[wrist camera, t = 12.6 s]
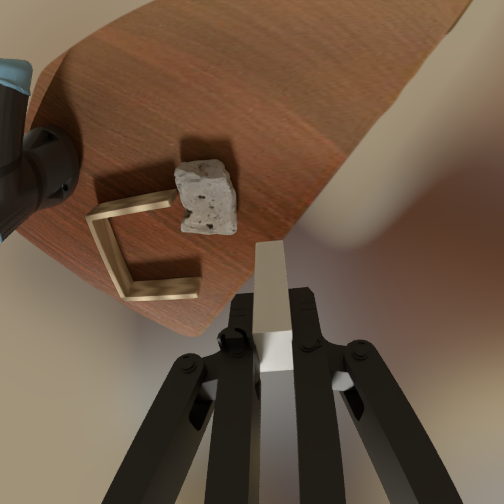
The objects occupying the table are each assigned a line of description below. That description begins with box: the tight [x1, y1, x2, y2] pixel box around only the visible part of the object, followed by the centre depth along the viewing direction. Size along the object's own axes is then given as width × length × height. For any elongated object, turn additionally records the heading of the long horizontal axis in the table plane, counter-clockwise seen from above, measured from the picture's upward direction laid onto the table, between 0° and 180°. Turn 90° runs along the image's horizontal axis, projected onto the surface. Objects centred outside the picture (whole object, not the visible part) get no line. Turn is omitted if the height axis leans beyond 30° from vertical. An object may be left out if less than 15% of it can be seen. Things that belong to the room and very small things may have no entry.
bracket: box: [85, 189, 202, 301], centre depth 49 cm, size 16×19×5 cm
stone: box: [174, 159, 237, 235], centre depth 44 cm, size 13×6×10 cm
